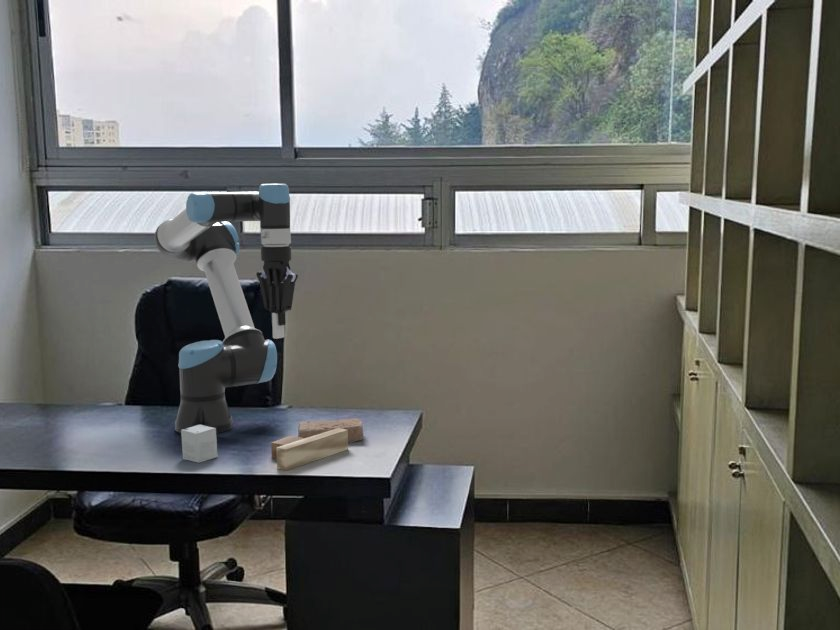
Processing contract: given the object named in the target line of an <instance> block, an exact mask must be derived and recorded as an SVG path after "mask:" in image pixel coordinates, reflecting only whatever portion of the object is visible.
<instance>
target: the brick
mask: <svg viewBox="0 0 840 630" xmlns="http://www.w3.org/2000/svg"><path fill="white" fill-rule="evenodd" d="M363 427H364V425H363V422H362V420H361V418H355V417H353V418H342V419H337V420H311V421H310V420H308V421H301V422H299V425H298V427H297V429H298V433H297V435H298V436H297V437H300V438H308V437H311V436H314V435H318V434H321V433H324V432H327V431H330V430H334V429H337V428H342V429H346V430H348V443H354V442H355V443H356V442H358V441H359V442H360V441H362V440H363V439H364V428H363Z"/></svg>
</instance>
